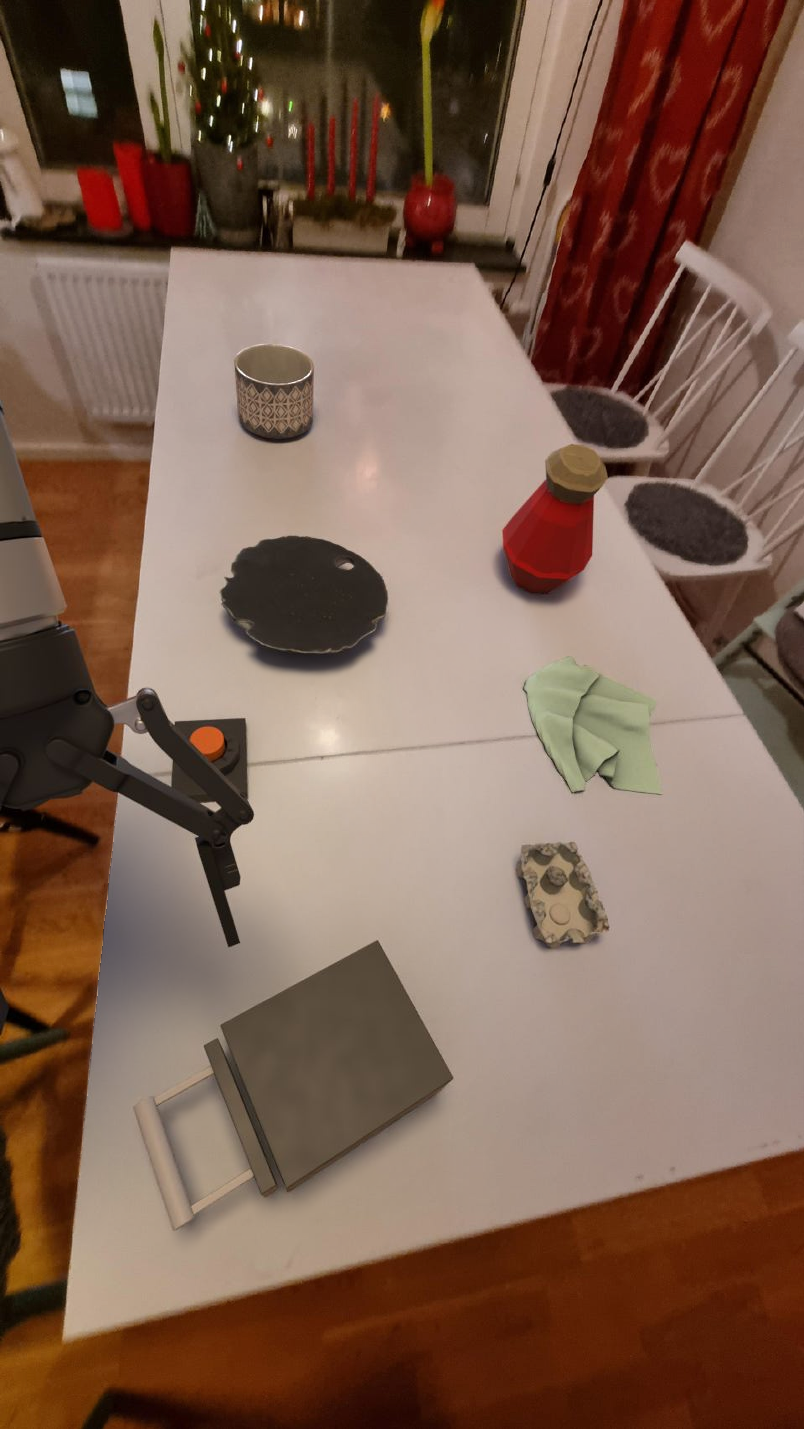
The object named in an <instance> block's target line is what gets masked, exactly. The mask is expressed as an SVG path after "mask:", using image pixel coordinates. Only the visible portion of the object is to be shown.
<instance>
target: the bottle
mask: <svg viewBox="0 0 804 1429" xmlns="http://www.w3.org/2000/svg"><path fill="white" fill-rule="evenodd" d="M544 464H545V465H544V466H545V479H544V480H543V481H542V483H541V484H540V485H539V486H538V487H537V488H536V490H535V491H534V492H533V493H532V494H531V495H530V496H529V497H528V498H527V500H526V501H525V502H523V504H522V506H520V508H519V509H518V510H517V511H516V512H515V513H514V514H513V516H512V517H511V518H510V520H509V521H508V522H507V523H506V524H505V526H504V527H503V529H502V530H501V531H502V545H503V546H502V547H503V552H504V555H505V559H506V563H507V567H508V571H509V574H510V577H511V579H512V581H513V583H514V584H515V586H516V587H517V588H519V589H522V590H524V591H525V592H527V593H529V594H531V595H544V596H545V595H550V594H551V593H552V592H554V591H557V589H559V588H561V587H562V586H563V585H565V584H566V583H567V582H569V581H570V580H572V579H574V578H575V577H576V576H578V575H579V574H580V573H582V572H584V570H585V569H586V567H587V565H588V563H589V562H590V560H591V558H592V557H593V548H594V547H593V546H594V545H593V544H594V510H595V509H594V508H595V495H596V494H597V493H598V492H599V490H601V489H602V487H603V486H604V485H605V483H606V482H607V480H608V479H609V477H608V472H607V468H606V465H605V464H604V462H603V460H602V459H601V457H600V456H599V454H598V453H597V451H596V450H594V449H593V448H590V447H588V446H586V445H584V444H574V443H571V444H568V445H566V446H563V447H560V448H558V449H556V450H554V451H551V453H550V454H549V455H548V457H547V458H546V459H545V460H544Z"/></svg>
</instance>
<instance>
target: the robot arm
mask: <svg viewBox="0 0 804 1429" xmlns="http://www.w3.org/2000/svg"><path fill="white" fill-rule="evenodd" d="M5 415H6V413H5V411H4V405H3V401H2V400H1V399H0V811H1V810H2V807H3V806H4V807H6V808H8V809H9V808H10V809H14V810H15V809H17V810H20V811H21V812H26V811H29V810H32V809H36V808H39V807H40V806H42V805H44V804H45V803H47V802H48V801H51V800H56V799H68V798H72V797H76V796H79V795H82V794H83V793H84V792H83V791H85V790H86V789H87V788H89V787H90V786H91V785H92V784H93V783H94V784H96V785H98V786H100V787H101V788H104V789H106V790H108V791H110V792H112V793H118V794H119V795H122V796H123V797H125V798H127V799H129V800H130V801H132V802H135V803H136V804H138V805H140V806H142V807H144V808H145V809H147V810H149V811H151V812H152V813H154V814H156V815H158V816H160V817H162V818H164V819H166V820H167V821H170V822H171V823H173V824H175V825H177V826H179V827H180V828H182V829H184V830H186V831H188V832H190V833H191V834H193V835H195V836H196V837H194V840H195V844H196V848H197V852H198V856H199V859H200V862H201V865H202V868H203V871H204V875H205V878H206V881H207V884H208V888H209V891H210V894H211V897H212V900H213V904H214V907H215V910H216V913H217V916H218V919H219V922H220V925H221V929H222V932H223V935H224V938H225V942H226V945H227V948H228V949H229V948H232V947H233V946H236V945H240V944H241V941H240V940H241V939H240V938H239V934H238V931H237V926H236V924H235V920H234V917H233V914H232V911H231V907H230V905H229V901H228V898H227V894H226V891H228V890H231V889H234V888H236V887H239V886H240V885H241V873H240V870H239V867H238V863H237V860H236V857H235V854H234V850H233V846H232V842H231V837H232V834H233V833H234V832H235V831H236V830H237V829H239V828H240V827H241V826H246V825H249V824H250V823H251V822H252V821H253V820H254V817H255V812H254V809H253V808H252V805H251V804H250V802H249V800H248V799H247V798H246V797H245V796H244V795H243V794H242V793H241V792H240V791H239V790H238V789H237V788H236V787H235V786H234V785H233V784H232V783H231V782H230V781H229V780H228V779H227V778H226V777H225V776H224V775H223V774H222V773H221V772H220V771H219V770H218V769H217V768H216V767H215V766H214V765H213V764H212V763H211V762H210V761H209V760H208V759H207V758H206V757H205V756H204V755H203V754H202V753H201V752H200V751H199V750H198V749H197V748H196V747H195V746H194V745H193V744H192V742H191V741H190V740H189V739H188V738H187V737H186V736H185V735H184V734H183V733H182V732H181V731H180V730H179V729H178V728H177V727H176V726H175V723H173V722H172V721H171V720H170V719H169V718H168V715H167V713H166V711H165V708H164V706H163V703H162V702H161V699H160V697H159V695H158V693H157V692H156V690H155V689H153V688H152V687H148V686H147V687H142V688H140V689H138V691H137V692H136V695H133V696H131V697H128V698H125V699H123V700H121V701H118V702H115V703H113V704H110V705H107V704H106V703H105V702H103V700H102V699H101V698H100V696H99V695H98V693H97V692H96V689H95V686H94V683H93V680H92V678H91V675H90V671H89V668H88V666H87V662H86V659H85V657H84V654H83V650H82V647H81V645H80V642H79V639H78V636H77V632H76V630H75V628H73V627H72V628H71V626H70V625H69V623H63V622H62V620H60V619H59V616H58V615H61V614H64V613H65V611H66V609H67V607H68V605H67V603H66V600H65V596H64V594H63V591H62V588H61V584H60V581H59V578H58V575H57V573H56V570H55V567H54V564H53V560H52V558H51V555H50V552H49V549H48V546H47V544H46V541H45V538H44V537H43V534H42V530H41V528H40V525H39V524H38V521H37V518H36V515H35V512H34V509H33V506H32V502H31V499H30V496H29V493H28V489H27V487H26V484H25V480H24V476H23V473H22V470H21V467H20V464H19V460H18V457H17V455H16V451H15V448H14V445H13V441H12V439H11V436H10V432H9V429H8V425H7V422H6V419H5ZM116 725H125V726H127V727H129V729H130V730H132V732H134V733H135V734H138V735H144V734H147V733H148V734H149V736H150V737H151V739H152V740H153V742H154V743H155V744H156V745H157V746H158V748H160V749H161V750H162V752H164V753H165V755H167V756H168V757H169V758H170V759H171V760H172V762H173V761H174V762H175V763H176V764H177V765H178V766H179V767H180V768H181V769H182V770H183V771H184V772H185V773H186V774H187V775H188V776H189V777H190V778H192V779H193V780H194V781H195V782H196V783H197V784H198V785H199V786H200V787H201V788H202V789H203V790H204V791H205V792H206V793H207V794H208V795H209V796H210V797H211V798H212V799H213V800H214V801H213V802H215V803H216V804H217V805H218V806H219V807H220V808H218V809H217V810H216V811H214V810H212V809H211V808H208V806H205V805H203V803H201V802H197V801H195V800H193V799H191V798H189V797H188V796H186V795H184V794H182V793H181V792H179V791H177V790H175V789H174V788H172V787H171V786H170V785H169V784H167V783H165V782H163V781H162V780H159V779H158V778H156V777H154V776H152V775H151V774H150V773H147V772H146V771H143V770H142V769H140V768H138V767H137V766H135V765H133V764H132V763H131V762H129V761H128V760H127V759H126V758H124V757H122V755H119V754H118V753H115V752H113V751H112V750H110V749H108V747H109V744H110V741H111V738H112V735H113V733H114V730H115V726H116ZM9 1009H10V1008H9V1005H8V1002H7V1000H6V997H5V995H4V993H3V990H2V988H1V987H0V1036H2V1034H3V1030H4V1026H5V1023H6V1020H7V1016H8V1012H9Z"/></svg>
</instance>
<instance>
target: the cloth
mask: <svg viewBox="0 0 804 1429" xmlns="http://www.w3.org/2000/svg"><path fill="white" fill-rule="evenodd" d="M522 689H523V690H524V691H525V692H526V699H527V706H528V712H529V715H530V717H531V722H532V725H533V727H534V728H535V730H536V733H537V735H538V738H539V740H540V741H541V743H542V744H543V746H544V749H545V751H546V754H547V755H548V757H549V758H550V759H551V760H552V761H553V763H554V765H555V767H556V769H557V771H558V772H559V775H561V777H562V778H563V779H564V780H565V781H566V783H567V785H568V787H569V789H570V791H571V793H575V792H579V791H583V792H584V791H586V785H587V784H586V783H587V782H588V781H590V779H591V778H592V777H594V776H595V773H596V772H597V773H598V774H599V776H602V777H604V778H605V780H606V782H607V783H608V784H609V785H610V786H611V787H612V788H614V789H616V790H621V791H625V792H633V793H642V794H653V795H659V796H662V795H663V791H662V784H661V781H660V776H659V771H658V768H657V763H656V759H655V754H654V750H653V746H652V741H651V736H650V735H651V734H650V718H651V716H652V714H653V712H654V710H655V708H656V706H657V703H658V700H656V699H654V698H652V697H650V696H648V695H646V694H644V693H642V692H641V691H638V690H635V689H633V688H631V687H630V686H627V685H625V684H623V683H621V682H619V681H617V680H614V679H612V678H609V677H607V676H605V675H603V674H600V673H599V672H598V671H597V670H595V669H594V668H592V667H591V666H589V665H587V664H585V665H578V663H577V662H576V659H575V658H574V657H572V656H569V655H567V656H566V657H564V658H562V659H560V660H556V661H554V662H552V663H550V664H548V665H546V666H545V667H544V666H543V667H542V668H540V669H539V670H538V671H537V672H536V673H533V674H531V676H529V677H528V678H527V679H525V681H524V684H523V688H522Z"/></svg>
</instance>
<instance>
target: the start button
mask: <svg viewBox="0 0 804 1429" xmlns="http://www.w3.org/2000/svg"><path fill="white" fill-rule="evenodd" d="M190 741H191V742H192V744H193V745H194V746H195V747H196V748H197V749H198V750H199V751H200V752H201V753H202V754H203V755H204V756H205V757H206V758H207V759H208V760H209V761H210V762H212V761H215V760H217V759H219V758H220V757H221V756H222V755H223V753H224V751H225V743H224V737H223V734H222V733H221V731H220V730H218V729H217V728H214V727H202V728H199V729H197V730H196V731H195V732H194V733H193V734H192V735H191V737H190Z"/></svg>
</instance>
